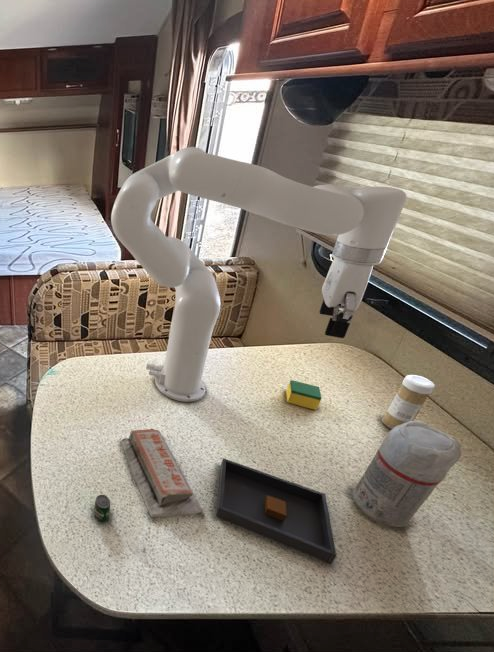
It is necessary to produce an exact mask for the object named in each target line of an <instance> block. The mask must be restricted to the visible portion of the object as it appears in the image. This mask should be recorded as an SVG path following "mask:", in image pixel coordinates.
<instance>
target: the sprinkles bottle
mask: <svg viewBox="0 0 494 652" xmlns="http://www.w3.org/2000/svg"><path fill="white" fill-rule="evenodd" d="M435 387H436V385H435V384H434V382H433V381H431V380H430V379H428V378H426V377H424V376H421V375H418V374H417V375H416V374H407V375H406V376H405V377H404V379H403V380H402V384H401V386H400V388H399V390H398V392H397V393H396V395H395V397H394V398H393V399H392V402H391V404H390V406H389V407H388V409H387V412H386V413H385V415H384V417H382V419H381V420H382V424H384V425H385V426H386V427H388V428H389V429H391V430H392V429H393V428H394V427H396V426H398V425H401V424H403V423H407V422H409V421H415V419H416V418H417V416H418V415H419V413H420V411H421V408H422V407H423V405H424V404H425V402H426V401H427V399H428V397H429V396H430V395H431V394H432V393H433V392H434V390H435Z"/></svg>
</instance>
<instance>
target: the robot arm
mask: <svg viewBox="0 0 494 652" xmlns="http://www.w3.org/2000/svg"><path fill="white" fill-rule="evenodd" d="M177 192H180V193H183V194H186V195H190V196H194V197H198V198H201V199H205V200H209V201H212V202H216V203H220V204H223V205H228V206H230V207H231V206H232V207H234V208H238V209H241V210H244V211H246V212H248V213H251V214H254V215H257V216H260V217H262V218H266V219H268V220H271V221H273V222H276V223H280V224H283V225H286V226H289V227H292V228H296V229H299V230H303V231H306V232H310V233H314V234H319V235H322V236H337V238H336V241H335V244H334V247H333V250H332V253H331V257H332V258H333V260H332V262H331V265H330V266H329V270H328V272H327V274H326V277H325V279H324V281H323V284H322V287H321V293H322V297H323V300H322V303H321V306H320V309H319V310H318V311H319V314H320V315H323V316H324V315H325V316H331V317H329V320H328V323H327V325H326V328H325V331H324V335H325V336H327V337H334V338H339V339H344V338H345V337H346V335H347V333H348V330H349V327H350V325H351V322H352V319H353V314H354V313H355V311H356V310H358V308H359V307H360V304H361V302H362V300H363V298H364V295H365V292H366V289H367V287H368V283H369V281H370V278H371V276H372V275H371V274H372V271H373V267H374V266H377V265H380V264H382V260H383V258H384V256H385V253H386V251H387V249H388V246H389V243H390V241H391V238H392V236H393V233H394V231H395V229H396V226H397V224H398V221H399V218H400V216H401V214H402V211H403V209H404V207H405V204H406V201H407V194H406V192H405V191H404V190H402V189H399V188H395V187H390V186H364V187H354V186H343V185H335V184H318V185H315V186H311V185H307V184H304V183H301V182H298V181H295V180H293V179H290V178H287V177H285V176H283V175H280V174H279V173H277V172H275V171H273V170H271V169H269V168H266V167H263V166H260V165H258V164H253V163H249V162H245V161H240V160H237V159H232V158H229V157H228V158H227V157H224V156H220V155H216V154H213V153H208V152H206V151H205V150H203V149H202V148H199V147H196V146H187V147H184V148H182V149H181V148H180V150H177V151H175V152H174V153H171V154H170V155H168V156H166V157H164V158H162V159H160V160H158V161H156V162H154V163H152V164H150V165H148V166H146V167H144V168H142V169H140V170H137V171H136V172H134V173H133V174H131V175H130V176H128V177H127V179H126V180H125V181H124V182H123V184H122V186H121V188H120V190H119V192H118V193H117V196H116V198H115V200H114V203H113V206H112V209H111V214H110V221H111V228H112V231H113V233H114V235H115V237H116V238H117V239H118V241H119V242H120V244H122V246H124V248H126V250H127V251H128V252H129V253H130V254H131V255H132V257H133V258H134V259H135V261H137V263H138V264H139V265H140V267H142V269H144V270H145V272H146V273H147V274H148V275H149V277H151V278H152V280H153V281H154V282H155V283H156V284H157V285H159V286H161V287H164V288H168V289H169V288H170V289H172V288H174V290H175V294H174V295H175V299H174V300H175V301H174V310H173V314H172V319H171V323H170V324H171V325H170V329H169V334H168V340H167V347H166V352H165V358H164V362H163V364H155V363H151V362H147V363H146V367H145V369H146V370H149V371H148V375H149V376H153V377H155V379H154V384H155V387H157V390H159V391H160V392H161V393H162V394H163V395H164V396H166V397H168V398H170V399H172V400H175V401H178V402H184V403H189V402H197V401H199V400H201V399H202V398H203V397H204V396H205V392H206V385H205V383H204V381H203V380H202V378H203V374H204V370H205V365H206V361H207V357H208V353H209V349H210V344H211V341H212V336H213V333H214V329H215V325H216V323H217V322H218V319H219V316H220V312H221V296H220V293H219V289H218V286H217V285H218V284H217V281H216V278H215V276H214V275H213V273H212V272H211V271H210V269H209V268H208V267H207V266H206V265H205V264H204V263H203V261H202V260H201V259H200V258H199V257H198V256H197V255H196V254H195V252H194V251H193V250H192V249H191V248H190V246H189V245H188V244H187V243H185V242H184V241H183V240H181V239H179V238H177V237H175V236H167V235H166V234H165V233H164V231H162V229H161V228H160V227H159V226H158V225H156V223H154V222H153V220H152V217H151V216H152V213H153V210H154V209H155V207H156V205H157V202H158V201H159V200H161V199H163V198H165V197H168V196H170V195H172V194H174V193H177ZM340 310H341V311H340Z"/></svg>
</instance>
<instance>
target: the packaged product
mask: <svg viewBox="0 0 494 652" xmlns="http://www.w3.org/2000/svg"><path fill="white" fill-rule="evenodd" d="M163 436H164V435H162V432H160V431H159V429H155V428H150V429H149V428H147V429H136V430H135V429H134V430H133V429H131V430H130V433H129V436H128V438H127V437H124V438H122V440H121V446H122V448H123V450H124V452H125V456H126V458H127V461H128V464H129V467H130V470H131V473H132V476H133V478H134V481H135V483H136V485H137V488H138V490H139V493H140V495H141V498H142V499H143V502H144V504H145V507H146V509H147V511H148V513H149V515H150V518H163V517H165V518H166V517H176V516H177V517H178V516H187V515H196V514H201V513H202V512H203V508H202V507H201V505H200V503H199V501H198V499H197V497H196V496H195V493H194V492H193V491H192V489H191V486H190V485H189V483H188V481H187V479H186V477H185V475H184V473H183V472H182V469H181V467H180V466H179V465H178V463H177V461H176V458H175V457H174V455H173V453H172V451H171V449H170V448H169V445H168V444H167V442H166V439H165V438H164V437H163Z"/></svg>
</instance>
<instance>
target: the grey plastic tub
mask: <svg viewBox="0 0 494 652" xmlns="http://www.w3.org/2000/svg"><path fill="white" fill-rule="evenodd" d="M461 457H462V445H461V443H460V442H459V441H457V440H456V439H454V438H453V437H451V436H450V435H448V434H447V433H446V432H445V431H443V430H440V429H437V428H435V427H433V426H431V425H429V424H428V423H425V422H424V421H416V420H413V421H409V422H407V423H403V424H401V425H398V426H396V427H394V428H393V429H391V430H390V431H389V432H388V433H387V434H386V435H385V437H384V438H383V440H382V441H381V443H380V446H379V448H378V449H377V451H376V452H375V455H374V456H373V458H372V459H371V462H370V464H368V467H367V468H366V469H365V471H364V473H363V475H362V476H361V477H360V479H359V480H358V482H357V484H356V486H355V487H354V488H353V489H352V490H351V491H352V492H351V495H352V498H353V500H354V502H355V503H356V505H357V506H358V508H359V509H361V511H362V512H363V513H364V514H366V515H367V516H368V517H370V518H371V519H372V520H375V521H377V522H378V523H381V524H383V525H386V526H391V527H396V528H402V527H404V528H405V527H407V526H410V524H411V520H412V519H413V517H414V516H415V515H416V513H417V512H418V511H419V509H420V508H421V507H422V505H424V503H425V502H426V501H427V499H428V498H429V497H430V496H431V495H432V494H433V492H434V490H435V488H436V487H437V486H438V485H439V484H440V483H441V482H442V481H444V480H445V478H447V475H448V473H449V471H450V470H451V469H452V468H453V466H454V465H455V464H457V463H458V461H459V459H461Z"/></svg>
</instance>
